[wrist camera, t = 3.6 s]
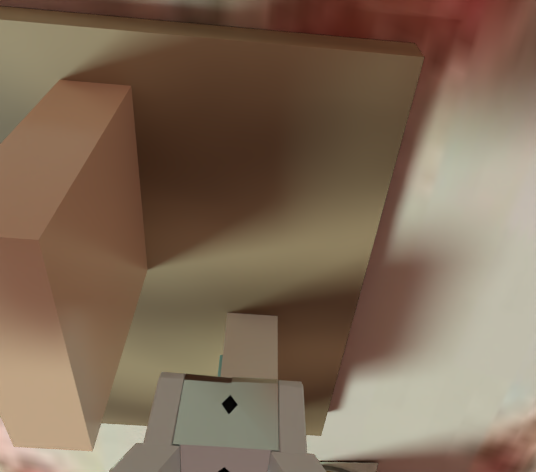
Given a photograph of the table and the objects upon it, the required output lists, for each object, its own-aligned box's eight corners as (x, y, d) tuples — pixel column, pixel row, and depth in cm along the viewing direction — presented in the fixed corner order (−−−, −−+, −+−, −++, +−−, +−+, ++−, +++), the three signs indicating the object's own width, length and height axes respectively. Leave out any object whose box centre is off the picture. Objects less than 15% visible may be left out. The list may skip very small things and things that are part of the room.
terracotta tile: (54, 79, 14) (-89, 230, 9) (131, 85, 14) (39, 239, 9) (88, 265, 18) (7, 446, 13) (147, 269, 18) (92, 450, 13)
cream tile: (223, 312, 20) (202, 493, 14) (277, 316, 20) (278, 496, 14) (219, 412, 24) (202, 581, 19) (264, 415, 24) (260, 584, 19)
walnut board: (-307, -22, 14) (-349, -12, 13) (414, 43, 14) (424, 57, 14) (-73, 391, 25) (-86, 412, 24) (319, 414, 26) (321, 435, 25)
